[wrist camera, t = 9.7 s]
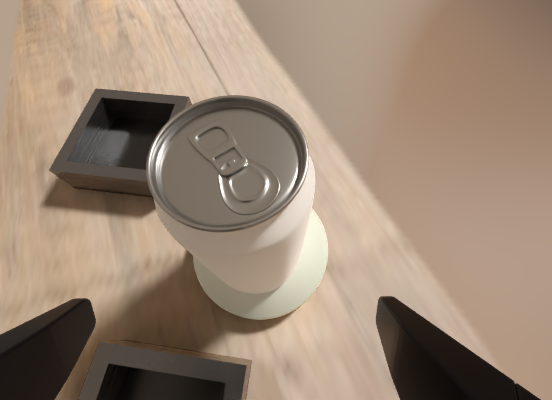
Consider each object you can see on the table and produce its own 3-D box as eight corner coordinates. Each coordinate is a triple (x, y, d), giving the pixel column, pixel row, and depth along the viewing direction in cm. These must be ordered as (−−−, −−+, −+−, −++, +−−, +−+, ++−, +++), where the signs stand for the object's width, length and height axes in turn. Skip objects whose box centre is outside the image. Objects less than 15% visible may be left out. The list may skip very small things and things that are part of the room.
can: (243, 315, 18) (188, 291, 8) (196, 240, 21) (103, 139, 10) (318, 258, 20) (362, 170, 9) (267, 194, 22) (253, 63, 11)
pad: (320, 329, 19) (324, 329, 18) (183, 309, 20) (176, 307, 19) (328, 201, 24) (331, 193, 22) (214, 188, 24) (210, 180, 23)
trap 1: (171, 199, 24) (157, 182, 21) (74, 188, 25) (48, 170, 22) (197, 119, 28) (188, 96, 25) (113, 111, 28) (95, 88, 26)
